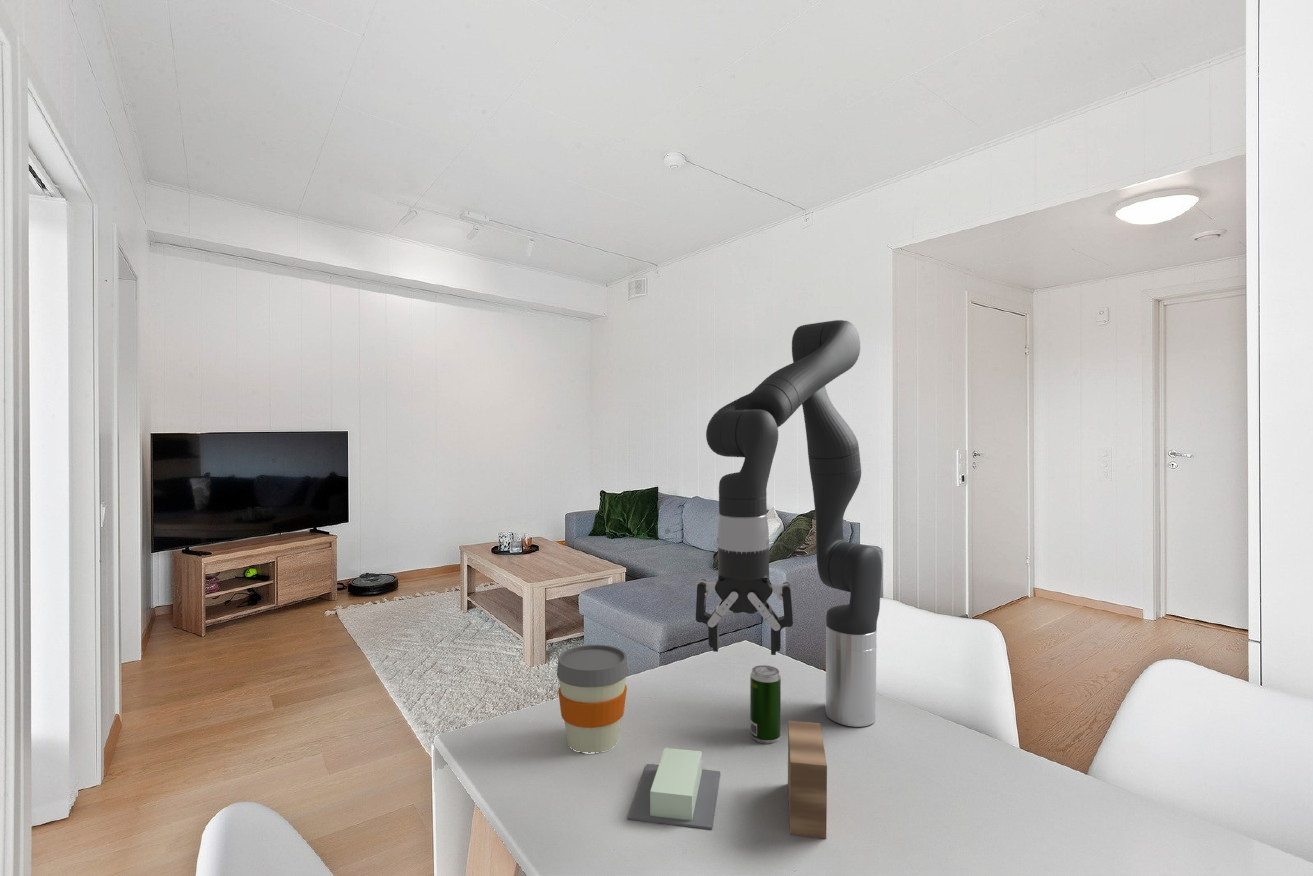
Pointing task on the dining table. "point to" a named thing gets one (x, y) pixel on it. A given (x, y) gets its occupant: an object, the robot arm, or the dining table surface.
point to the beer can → (765, 704)
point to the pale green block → (676, 784)
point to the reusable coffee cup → (592, 695)
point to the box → (807, 780)
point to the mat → (703, 804)
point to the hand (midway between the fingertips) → (744, 651)
